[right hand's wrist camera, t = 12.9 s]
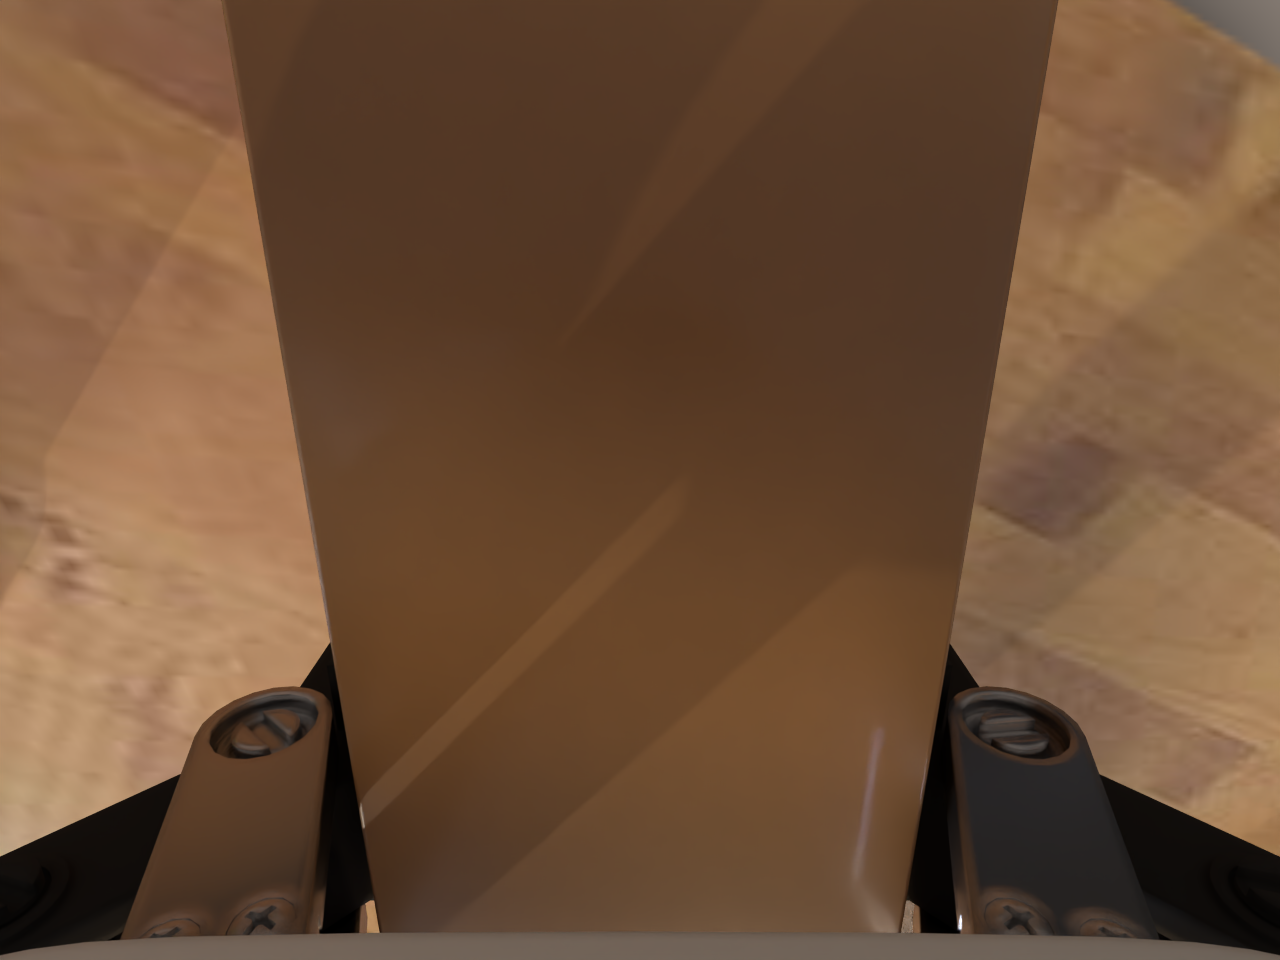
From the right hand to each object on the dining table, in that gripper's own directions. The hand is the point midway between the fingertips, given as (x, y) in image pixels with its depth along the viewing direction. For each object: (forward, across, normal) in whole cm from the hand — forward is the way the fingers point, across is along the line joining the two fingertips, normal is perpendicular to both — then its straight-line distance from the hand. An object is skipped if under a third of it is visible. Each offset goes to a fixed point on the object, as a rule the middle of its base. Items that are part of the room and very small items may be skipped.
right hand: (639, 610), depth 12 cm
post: (+2, 0, -24) cm, 24 cm away
